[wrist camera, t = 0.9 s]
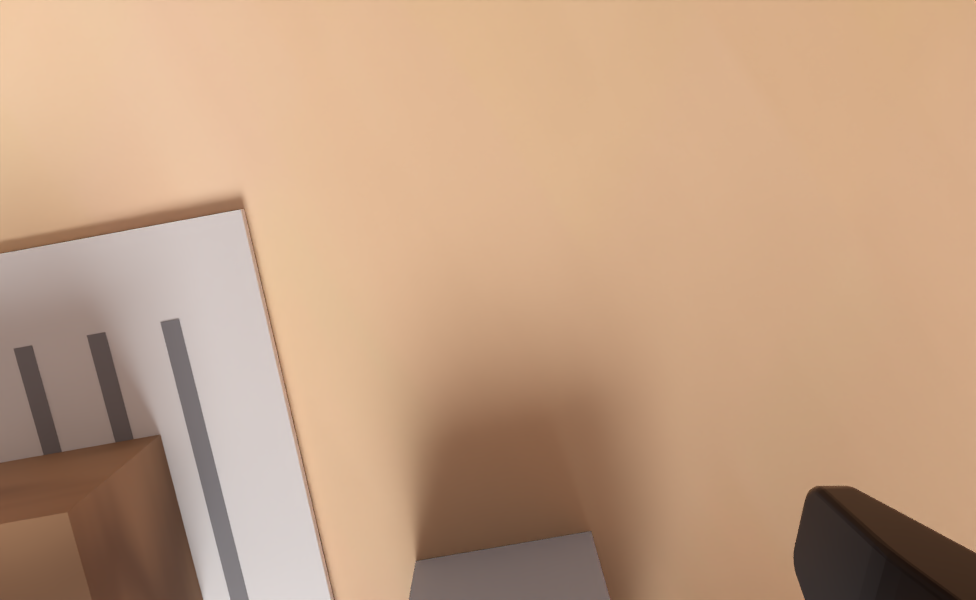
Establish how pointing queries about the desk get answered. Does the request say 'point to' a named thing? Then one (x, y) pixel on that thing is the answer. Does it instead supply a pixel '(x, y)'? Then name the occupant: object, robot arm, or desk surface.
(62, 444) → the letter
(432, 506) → the desk surface
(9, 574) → the walnut block
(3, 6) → the desk surface
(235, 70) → the desk surface
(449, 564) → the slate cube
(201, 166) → the desk surface
